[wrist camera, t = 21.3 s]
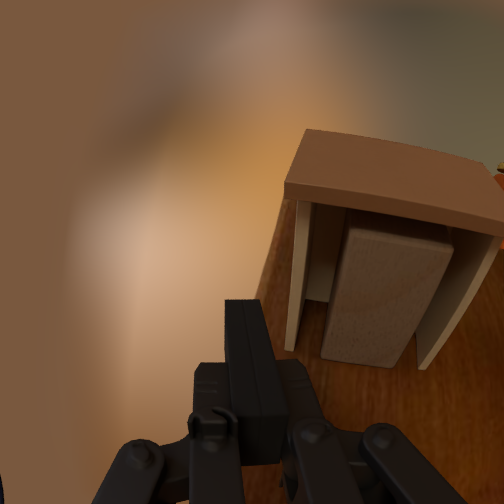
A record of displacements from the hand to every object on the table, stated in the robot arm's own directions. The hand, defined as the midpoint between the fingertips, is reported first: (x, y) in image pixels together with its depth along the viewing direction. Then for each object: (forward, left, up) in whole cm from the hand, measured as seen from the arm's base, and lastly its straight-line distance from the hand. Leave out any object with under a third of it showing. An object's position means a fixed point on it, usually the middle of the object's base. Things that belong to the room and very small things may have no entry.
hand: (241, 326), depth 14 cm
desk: (+10, +19, -24) cm, 32 cm away
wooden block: (+10, +19, -24) cm, 32 cm away
